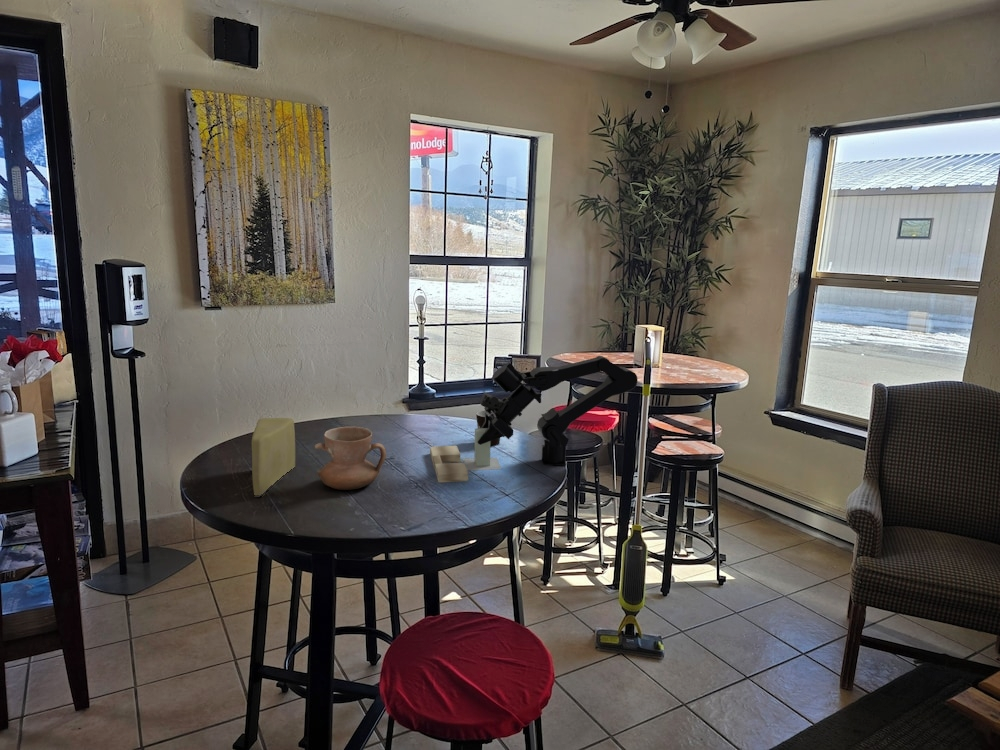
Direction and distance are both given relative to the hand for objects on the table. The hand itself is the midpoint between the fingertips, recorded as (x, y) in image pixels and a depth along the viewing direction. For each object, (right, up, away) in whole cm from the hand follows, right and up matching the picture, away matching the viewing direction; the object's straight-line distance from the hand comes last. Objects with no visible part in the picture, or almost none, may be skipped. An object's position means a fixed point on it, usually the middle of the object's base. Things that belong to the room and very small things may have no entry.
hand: (477, 441), depth 184 cm
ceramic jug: (-33, -10, -15) cm, 37 cm away
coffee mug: (+3, -3, +23) cm, 23 cm away
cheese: (-54, -10, -15) cm, 57 cm away
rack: (-7, -7, -1) cm, 10 cm away
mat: (+1, -7, +2) cm, 7 cm away
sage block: (+1, -7, +2) cm, 7 cm away
